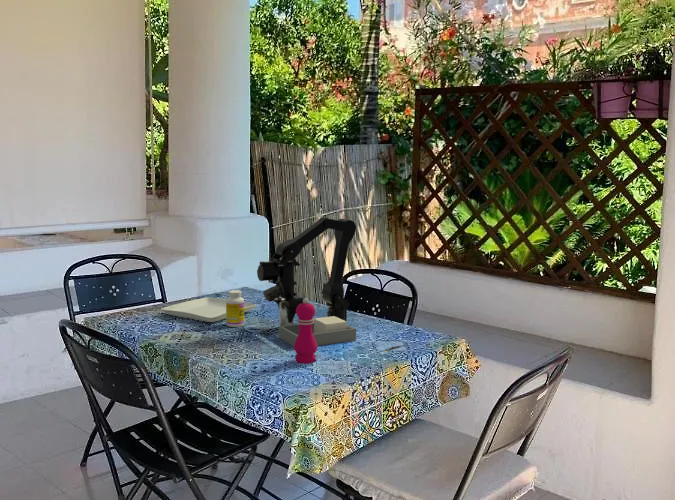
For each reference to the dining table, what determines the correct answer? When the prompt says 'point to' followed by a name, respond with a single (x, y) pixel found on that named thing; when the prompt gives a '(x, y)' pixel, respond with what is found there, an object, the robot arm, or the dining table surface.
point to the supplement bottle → (235, 309)
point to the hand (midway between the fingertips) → (286, 321)
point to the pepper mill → (305, 334)
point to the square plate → (203, 309)
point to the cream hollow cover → (329, 324)
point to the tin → (283, 314)
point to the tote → (317, 335)
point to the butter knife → (391, 349)
